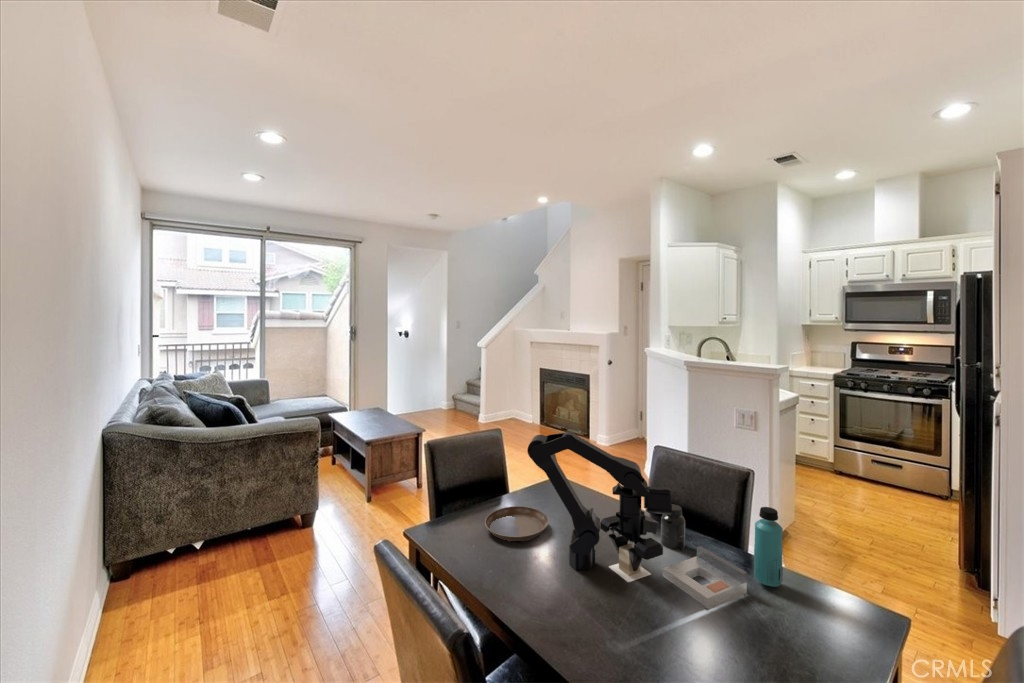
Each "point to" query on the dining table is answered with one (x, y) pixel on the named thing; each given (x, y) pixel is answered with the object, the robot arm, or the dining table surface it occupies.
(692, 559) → the plate
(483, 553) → the dining table surface
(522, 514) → the plant saucer
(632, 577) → the white square tile
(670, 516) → the supplement bottle
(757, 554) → the beverage bottle
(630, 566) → the birch peg
